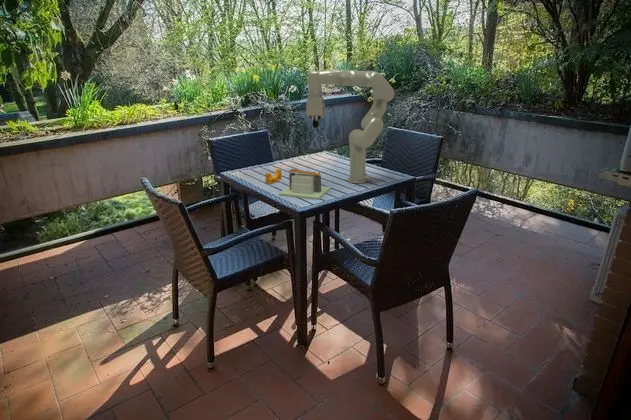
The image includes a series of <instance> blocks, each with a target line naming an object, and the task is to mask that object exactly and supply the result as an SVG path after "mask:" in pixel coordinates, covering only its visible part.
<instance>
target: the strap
mask: <svg viewBox="0 0 631 420" xmlns="http://www.w3.org/2000/svg"><path fill="white" fill-rule="evenodd" d="M288 172H289V173H295V174H296V173H305V174H312V175H316V176H318V175H321V172H320V171H318V172H315V171H309V170H302V169H299V168H291V169H289V170H288Z"/></svg>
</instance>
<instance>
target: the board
mask: <svg viewBox="0 0 631 420" xmlns="http://www.w3.org/2000/svg"><path fill="white" fill-rule="evenodd" d="M288 177H289V181H288V182H289V186H287V187H286V188H284V189H283V190H281V191H280V192H279V193H278V195H279V196H281V197H291V198H299V199H310V200H320V199H321V198H322V197H324V196H325V194H327V193H328V192H329V191H330V190H331V189H332V187H331V186H323V185H322V175H321V174H320V175H318V176H316V175H312V174H305V173H298V172H295V173H294V172H289V175H288Z"/></svg>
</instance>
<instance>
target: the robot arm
mask: <svg viewBox="0 0 631 420" xmlns="http://www.w3.org/2000/svg"><path fill="white" fill-rule="evenodd" d="M322 85H328V86H331V85H339V86H346V87H367V88H368V87H370V88H373V90H372V101H373V102H372V105H371V107H370V109H369V110H368V112H367V113H366V114H365V116H364V117H363V118H362V120H361V122H360V125H361V128H362V129H354V130H352V131H351V132H350V133H349V135H348V136H349V137H348V143H349V177H347V180H346V181H347V182H349V183H351V184H364V183H366V182H368V181H369V180H372V179H373V176H372V175H368V174H367V173H366V167H367V166H366V165H367V164H366V159H367V158H366V157H367V150H366V149H368V148H369V147H371V146H372V144H373V143H374V142H375V141H376V139H377V138H378V137H379V135H380V134H381V132H382V131H383V130H384V121H383V119H382V118H383V116H384V114H385V112H386V110H387V102H391V101H392V100H394V98H395V90H394V88H393V87H392V85H390V82H388V81H387V79H386V78H385V77H384V76H383V74H382V73H380V72H378V71H370V70H353V69H352V70H350V69H349V70H348V69H347V70H332V69H331V70H327V69H323V70H320V71H317V70H315V71H314V70H313V71H309V72H308V73H307V90H308V91H307V92H308V94H307V95H308V96H307V97H306V103H305V104H306V106H305V111H306V113H305V114H306V117H307V118H309V119H310V120H311V121H312V126H313V129H317V128H318V127H319V125H320V124H319V121H320V119H323V118H325V114H326V106H325V105H326V104H325V99H324V98H325V97H324V95H325V92H323V91H322V90H323V89H322Z"/></svg>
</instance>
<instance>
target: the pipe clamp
mask: <svg viewBox="0 0 631 420" xmlns="http://www.w3.org/2000/svg"><path fill="white" fill-rule="evenodd" d="M282 178H283V177H282V169H281V168H277V169H275V174H274V175H273V176H272V173H270V172H265V184H269V185H273V184H275V183H278V182H279V181H280V180H282Z"/></svg>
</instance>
